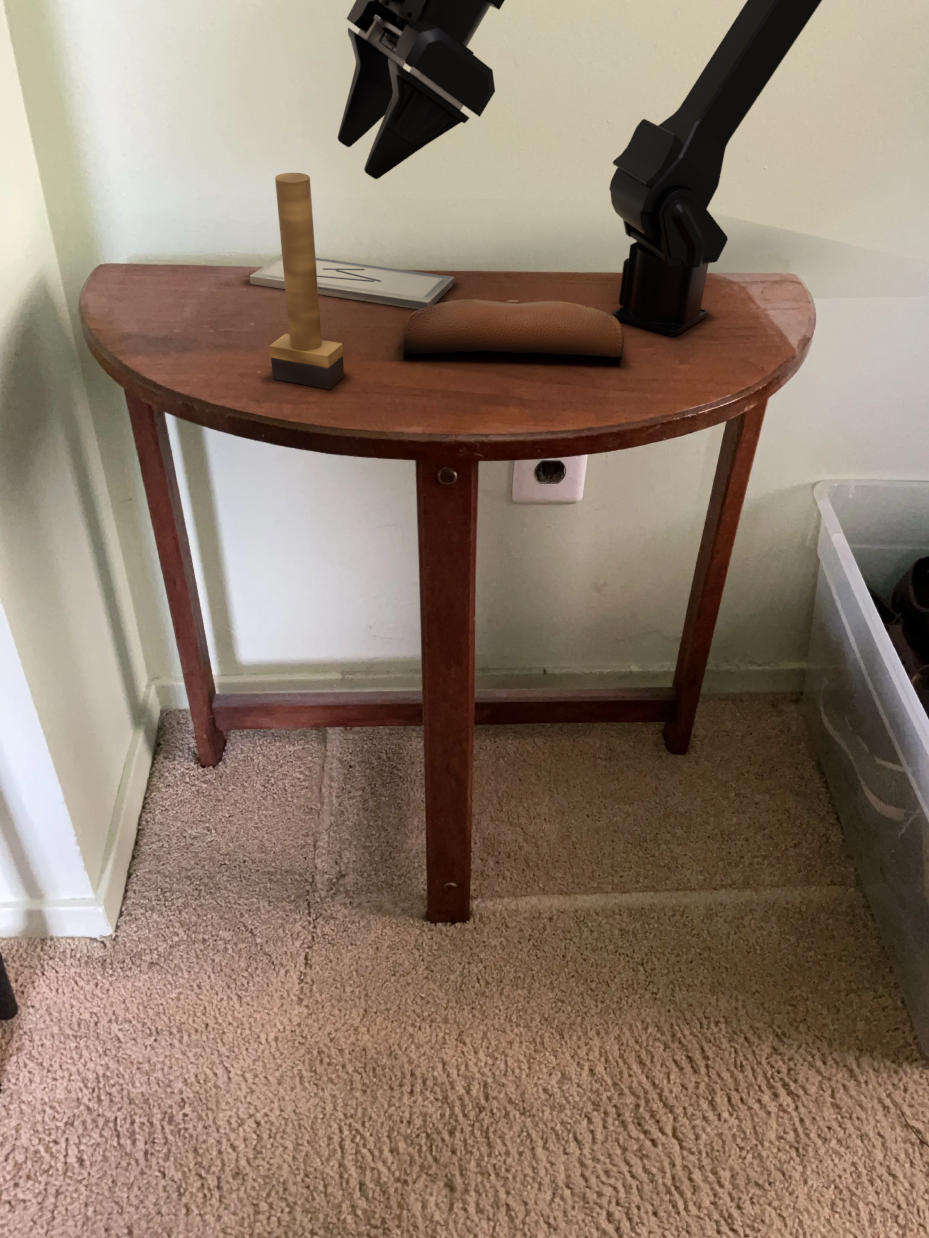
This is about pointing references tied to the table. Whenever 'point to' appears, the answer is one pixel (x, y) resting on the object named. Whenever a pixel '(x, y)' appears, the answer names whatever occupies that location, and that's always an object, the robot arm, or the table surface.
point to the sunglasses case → (513, 328)
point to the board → (365, 282)
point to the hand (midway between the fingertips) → (355, 159)
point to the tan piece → (302, 294)
